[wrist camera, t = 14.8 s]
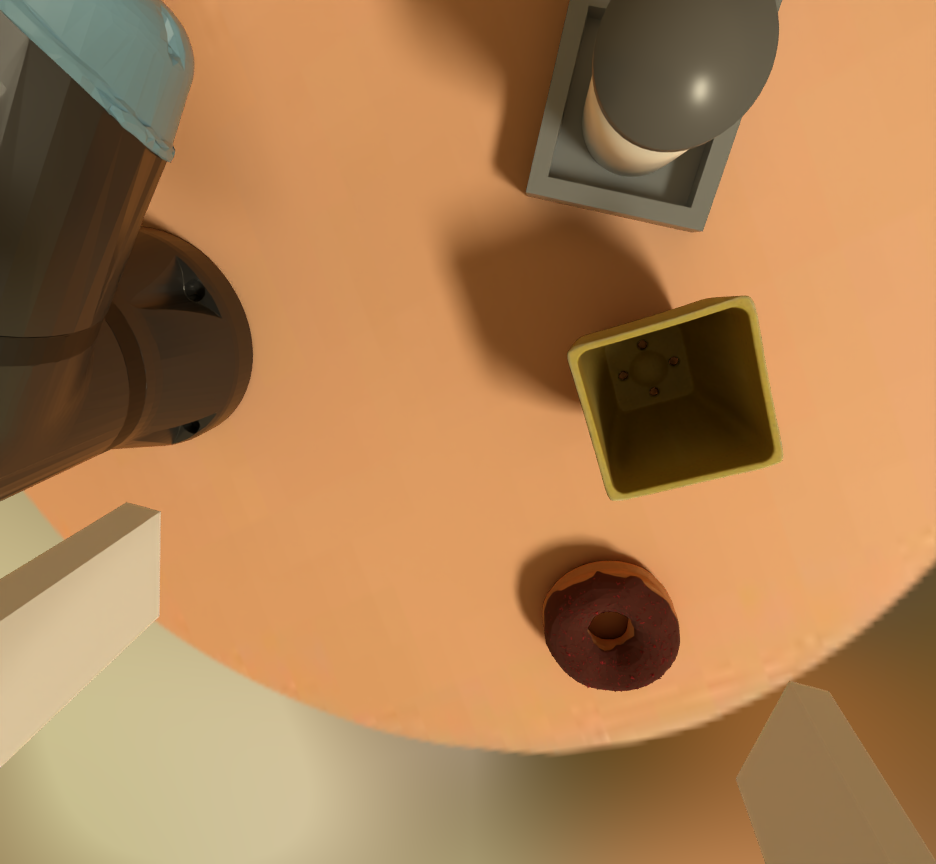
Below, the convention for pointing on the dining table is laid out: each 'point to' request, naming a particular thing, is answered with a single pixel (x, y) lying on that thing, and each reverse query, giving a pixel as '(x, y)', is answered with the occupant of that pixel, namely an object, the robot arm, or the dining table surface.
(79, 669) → the robot arm
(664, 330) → the flower pot
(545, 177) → the cup carrier
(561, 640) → the donut
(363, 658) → the dining table surface
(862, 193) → the dining table surface
